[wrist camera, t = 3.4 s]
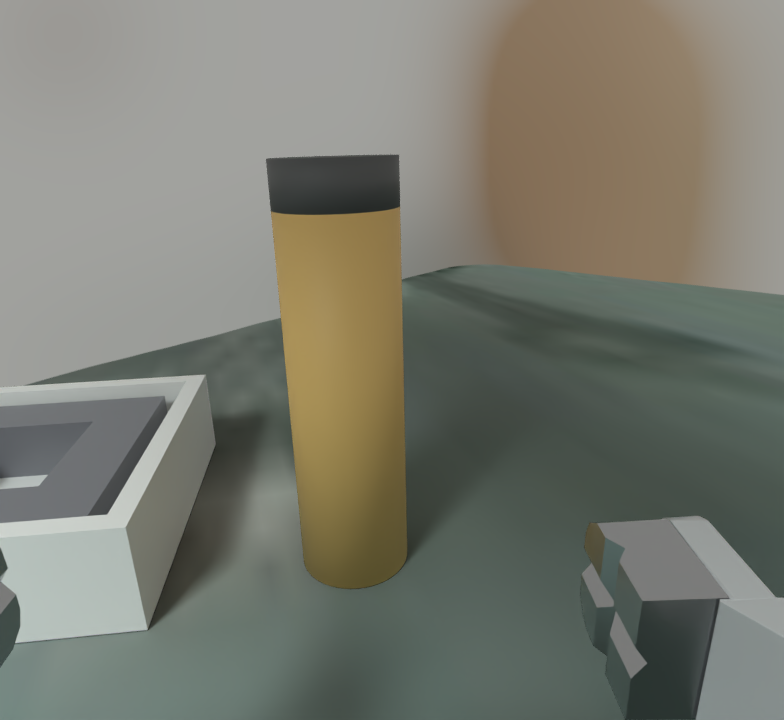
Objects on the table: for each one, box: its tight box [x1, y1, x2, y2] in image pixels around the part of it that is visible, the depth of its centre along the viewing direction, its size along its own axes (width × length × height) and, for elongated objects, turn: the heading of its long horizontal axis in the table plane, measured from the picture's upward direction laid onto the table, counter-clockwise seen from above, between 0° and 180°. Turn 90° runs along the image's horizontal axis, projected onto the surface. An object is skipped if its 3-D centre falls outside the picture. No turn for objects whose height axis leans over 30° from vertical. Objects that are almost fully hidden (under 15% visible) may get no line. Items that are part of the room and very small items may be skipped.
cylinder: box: [266, 155, 407, 589], centre depth 20 cm, size 4×4×14 cm
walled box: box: [0, 375, 216, 643], centre depth 24 cm, size 14×13×4 cm
